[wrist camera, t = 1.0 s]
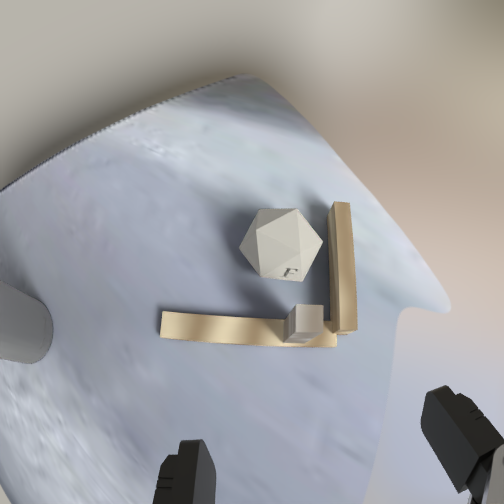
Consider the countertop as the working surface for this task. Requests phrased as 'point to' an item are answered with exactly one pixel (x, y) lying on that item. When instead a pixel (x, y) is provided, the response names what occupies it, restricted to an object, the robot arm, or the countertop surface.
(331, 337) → the l-shaped corner bracket
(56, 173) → the countertop surface
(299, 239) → the die
